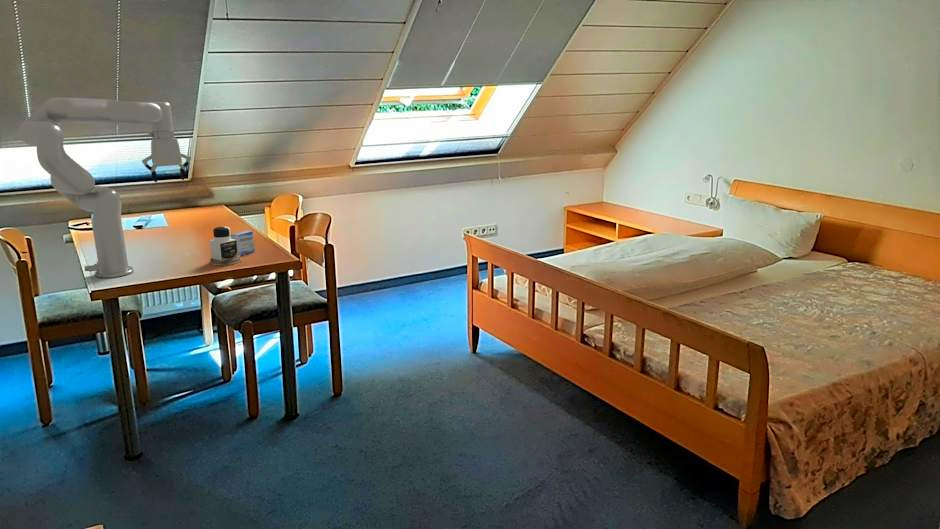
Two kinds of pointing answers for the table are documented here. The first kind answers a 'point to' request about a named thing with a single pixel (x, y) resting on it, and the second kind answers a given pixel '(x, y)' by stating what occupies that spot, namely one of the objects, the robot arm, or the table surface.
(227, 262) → the grey flat disc
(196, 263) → the table surface
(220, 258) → the medicine bottle
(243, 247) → the medicine box
